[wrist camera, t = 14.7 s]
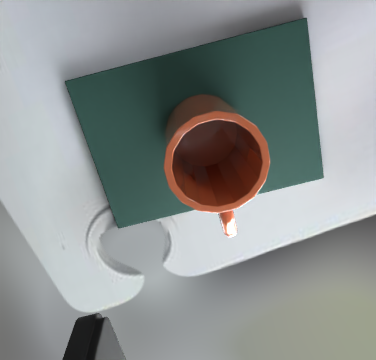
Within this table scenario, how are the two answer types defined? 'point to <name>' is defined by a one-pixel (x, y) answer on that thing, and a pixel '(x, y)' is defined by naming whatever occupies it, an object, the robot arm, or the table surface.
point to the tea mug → (214, 157)
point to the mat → (190, 86)
